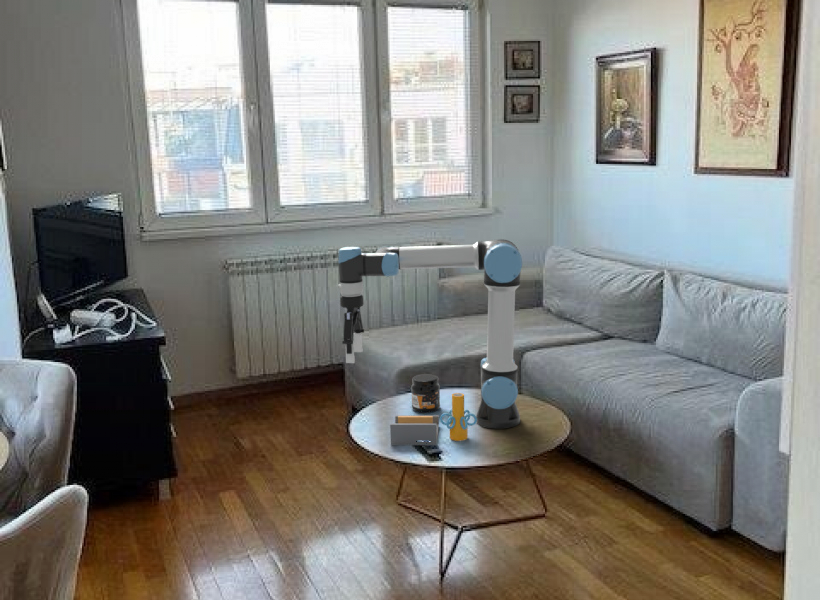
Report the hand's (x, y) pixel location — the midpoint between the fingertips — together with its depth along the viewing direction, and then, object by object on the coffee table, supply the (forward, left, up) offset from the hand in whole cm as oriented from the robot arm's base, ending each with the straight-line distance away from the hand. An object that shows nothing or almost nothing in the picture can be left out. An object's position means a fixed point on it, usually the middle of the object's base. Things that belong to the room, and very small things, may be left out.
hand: (354, 357), depth 280 cm
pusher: (-20, 0, -27) cm, 34 cm away
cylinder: (-34, +3, -28) cm, 44 cm away
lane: (-20, 0, -27) cm, 34 cm away
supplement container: (-22, -27, -28) cm, 44 cm away
